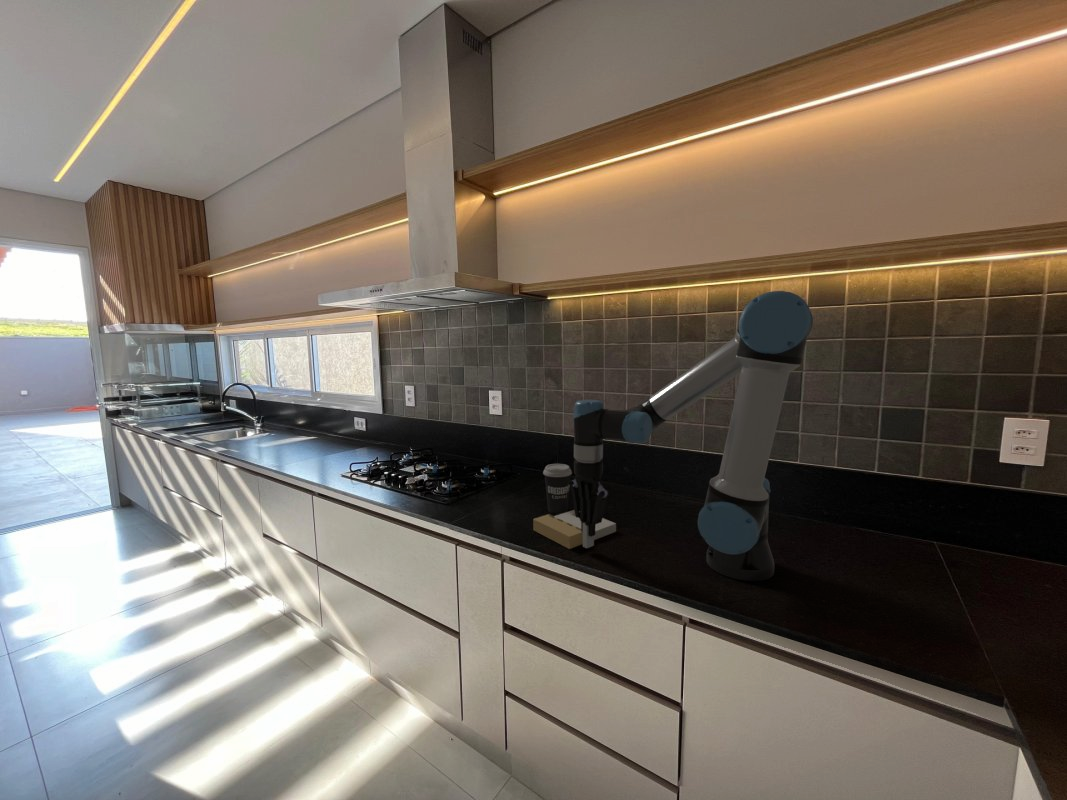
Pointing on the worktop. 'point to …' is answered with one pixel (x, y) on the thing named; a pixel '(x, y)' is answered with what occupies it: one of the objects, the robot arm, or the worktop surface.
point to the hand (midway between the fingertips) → (588, 545)
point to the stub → (558, 531)
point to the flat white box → (600, 528)
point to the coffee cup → (557, 487)
